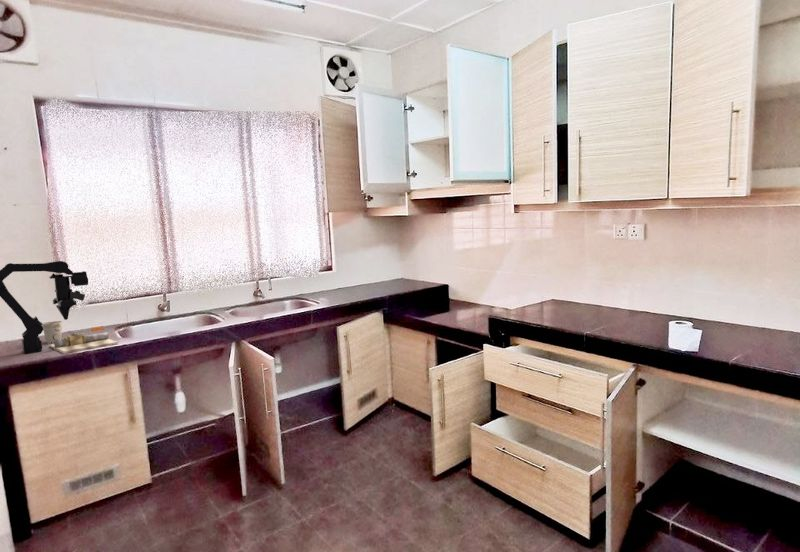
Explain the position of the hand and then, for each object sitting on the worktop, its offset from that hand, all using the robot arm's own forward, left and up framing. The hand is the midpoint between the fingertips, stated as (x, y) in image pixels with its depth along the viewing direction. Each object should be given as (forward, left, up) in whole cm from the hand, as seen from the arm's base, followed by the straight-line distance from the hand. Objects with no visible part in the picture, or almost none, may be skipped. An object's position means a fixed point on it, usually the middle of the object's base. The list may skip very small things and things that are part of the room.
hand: (66, 319), depth 232 cm
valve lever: (+7, -4, -7) cm, 11 cm away
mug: (-2, +22, -13) cm, 26 cm away
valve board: (+5, -5, -13) cm, 15 cm away
